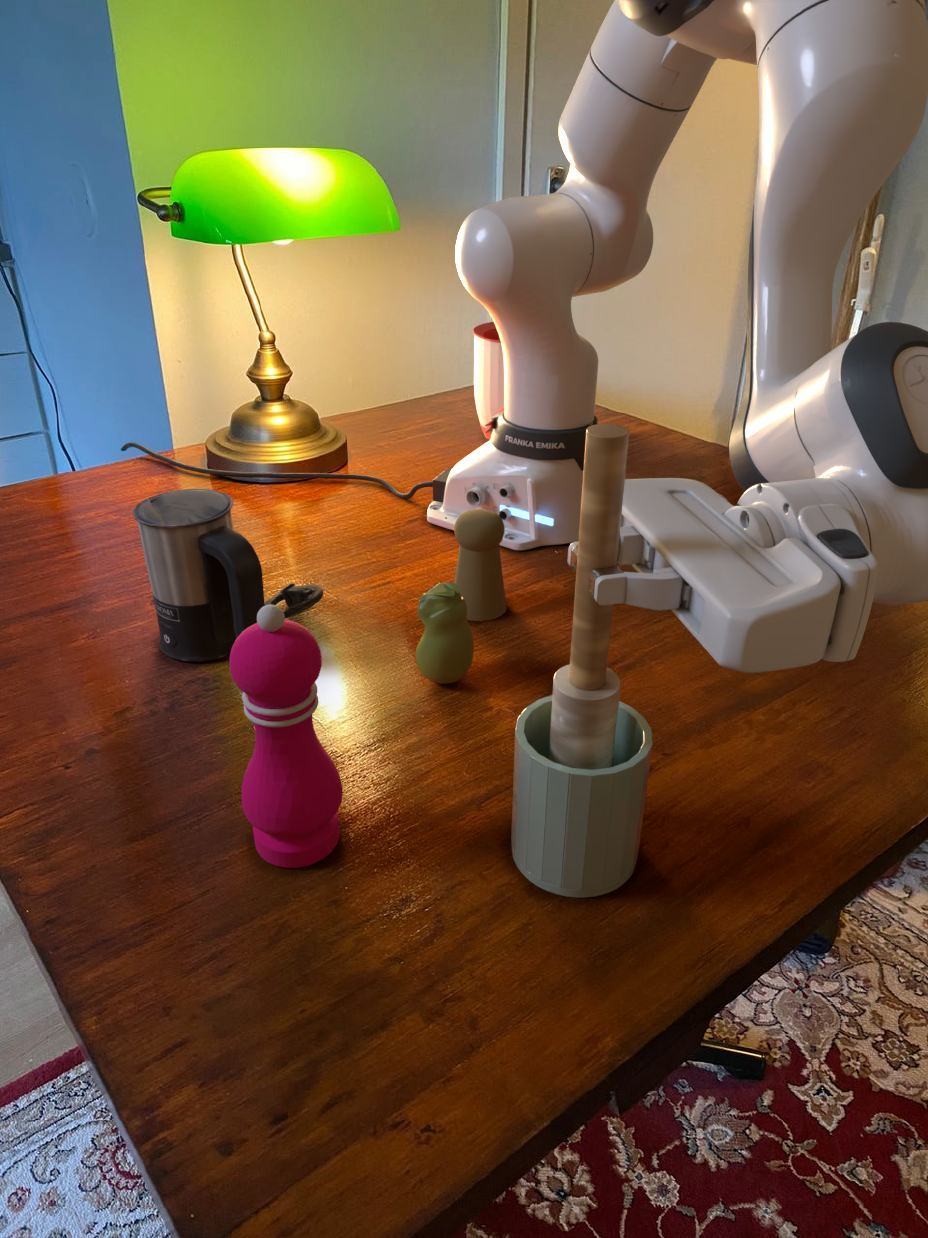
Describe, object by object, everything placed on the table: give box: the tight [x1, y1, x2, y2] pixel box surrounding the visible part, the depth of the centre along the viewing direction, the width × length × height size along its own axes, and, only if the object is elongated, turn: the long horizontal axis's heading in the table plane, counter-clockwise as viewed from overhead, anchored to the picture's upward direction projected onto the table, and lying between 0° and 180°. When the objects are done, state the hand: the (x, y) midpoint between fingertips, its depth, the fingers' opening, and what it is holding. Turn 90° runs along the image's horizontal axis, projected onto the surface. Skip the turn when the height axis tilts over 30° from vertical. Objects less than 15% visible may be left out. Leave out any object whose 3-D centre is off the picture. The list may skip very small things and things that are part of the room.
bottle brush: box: [549, 423, 630, 770], centre depth 57 cm, size 4×4×24 cm
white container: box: [472, 321, 504, 441], centre depth 143 cm, size 16×17×20 cm
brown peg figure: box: [453, 509, 507, 622], centre depth 96 cm, size 6×6×11 cm
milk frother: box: [132, 488, 324, 663], centre depth 91 cm, size 14×16×15 cm
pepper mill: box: [228, 605, 344, 869], centre depth 63 cm, size 7×7×20 cm
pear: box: [414, 582, 475, 685], centre depth 84 cm, size 6×5×10 cm
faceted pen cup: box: [510, 694, 654, 899], centre depth 64 cm, size 9×9×11 cm
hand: (582, 573), depth 55 cm, fingers closed on bottle brush, 2 cm apart
